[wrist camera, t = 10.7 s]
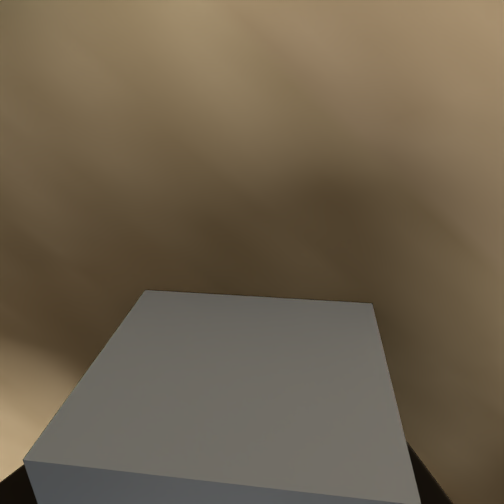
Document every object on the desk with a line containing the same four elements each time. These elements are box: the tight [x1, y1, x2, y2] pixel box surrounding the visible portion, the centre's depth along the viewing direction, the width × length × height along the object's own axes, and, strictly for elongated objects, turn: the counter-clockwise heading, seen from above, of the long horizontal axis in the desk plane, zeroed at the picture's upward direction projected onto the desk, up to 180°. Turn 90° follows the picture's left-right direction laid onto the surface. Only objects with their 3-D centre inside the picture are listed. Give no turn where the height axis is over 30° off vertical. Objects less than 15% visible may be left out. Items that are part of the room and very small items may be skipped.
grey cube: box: [23, 290, 421, 504], centre depth 7 cm, size 4×4×4 cm
